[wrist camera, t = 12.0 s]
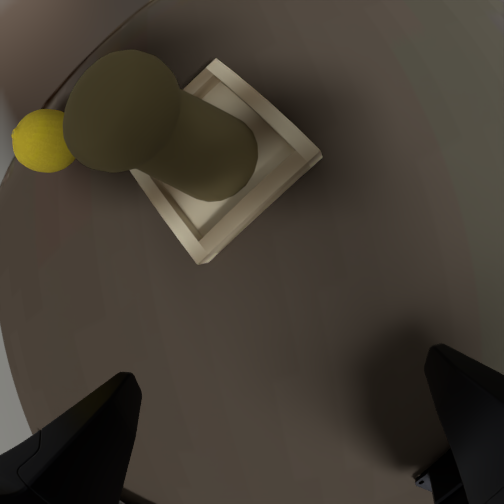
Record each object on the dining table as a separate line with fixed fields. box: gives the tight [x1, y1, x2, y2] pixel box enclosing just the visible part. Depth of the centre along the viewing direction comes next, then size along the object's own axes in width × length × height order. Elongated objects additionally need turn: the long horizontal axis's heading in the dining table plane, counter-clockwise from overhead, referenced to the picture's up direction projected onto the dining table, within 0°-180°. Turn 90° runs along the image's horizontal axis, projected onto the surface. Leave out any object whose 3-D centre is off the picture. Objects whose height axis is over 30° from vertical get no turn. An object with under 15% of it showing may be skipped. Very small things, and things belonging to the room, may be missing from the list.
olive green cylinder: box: [63, 49, 258, 202], centre depth 14 cm, size 6×6×11 cm
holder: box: [130, 58, 323, 265], centre depth 19 cm, size 10×10×2 cm
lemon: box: [11, 109, 76, 173], centre depth 20 cm, size 6×6×8 cm
